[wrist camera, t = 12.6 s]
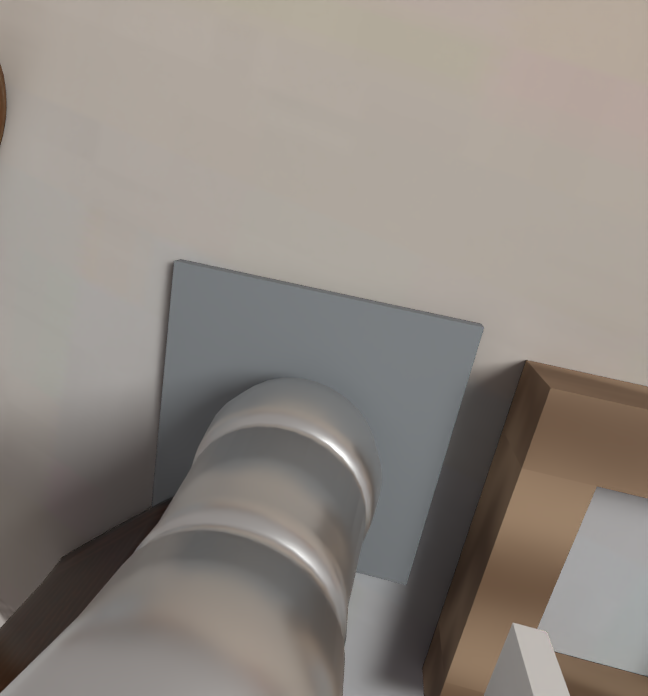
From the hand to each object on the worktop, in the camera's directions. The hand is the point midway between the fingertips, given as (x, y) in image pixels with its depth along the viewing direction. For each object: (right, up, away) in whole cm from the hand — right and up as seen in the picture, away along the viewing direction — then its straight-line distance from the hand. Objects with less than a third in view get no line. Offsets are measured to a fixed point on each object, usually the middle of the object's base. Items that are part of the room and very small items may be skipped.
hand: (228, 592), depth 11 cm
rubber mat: (+1, +2, +9) cm, 9 cm away
